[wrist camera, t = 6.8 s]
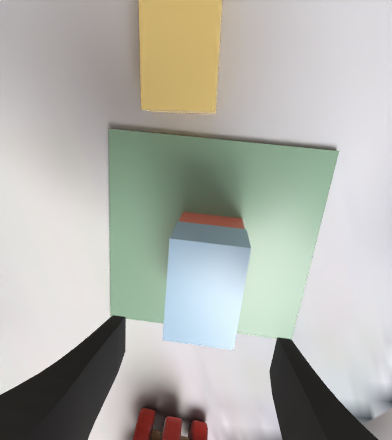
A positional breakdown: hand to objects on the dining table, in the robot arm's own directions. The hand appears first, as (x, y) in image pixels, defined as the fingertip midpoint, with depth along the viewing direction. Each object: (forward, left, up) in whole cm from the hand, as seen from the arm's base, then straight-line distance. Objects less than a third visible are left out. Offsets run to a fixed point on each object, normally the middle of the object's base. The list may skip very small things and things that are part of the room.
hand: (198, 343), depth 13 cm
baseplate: (0, -1, -10) cm, 10 cm away
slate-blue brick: (0, 0, -6) cm, 7 cm away
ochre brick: (+3, -14, -10) cm, 18 cm away
